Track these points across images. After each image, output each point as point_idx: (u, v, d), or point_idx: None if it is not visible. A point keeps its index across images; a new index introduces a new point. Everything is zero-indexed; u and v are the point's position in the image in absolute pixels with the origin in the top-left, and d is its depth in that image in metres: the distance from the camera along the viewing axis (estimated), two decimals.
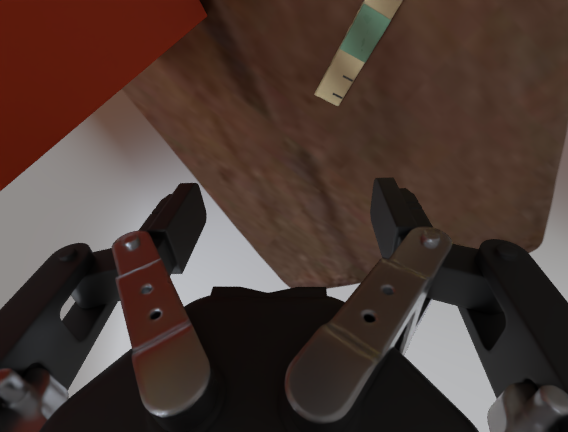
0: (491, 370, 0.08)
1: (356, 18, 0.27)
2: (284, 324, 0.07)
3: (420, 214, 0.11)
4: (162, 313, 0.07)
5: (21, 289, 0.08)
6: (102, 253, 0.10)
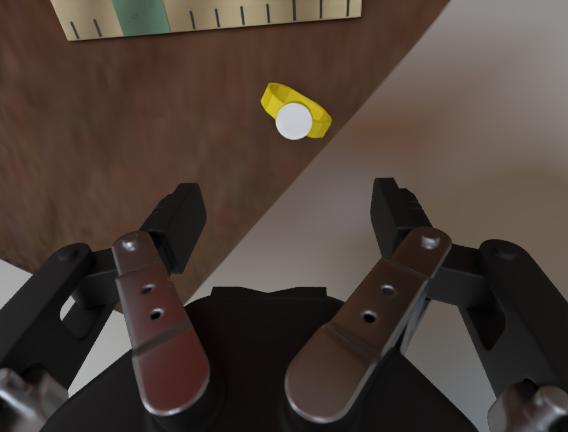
0: (491, 370, 0.08)
1: None
2: (284, 324, 0.07)
3: (420, 214, 0.11)
4: (162, 313, 0.07)
5: (21, 289, 0.08)
6: (102, 253, 0.10)
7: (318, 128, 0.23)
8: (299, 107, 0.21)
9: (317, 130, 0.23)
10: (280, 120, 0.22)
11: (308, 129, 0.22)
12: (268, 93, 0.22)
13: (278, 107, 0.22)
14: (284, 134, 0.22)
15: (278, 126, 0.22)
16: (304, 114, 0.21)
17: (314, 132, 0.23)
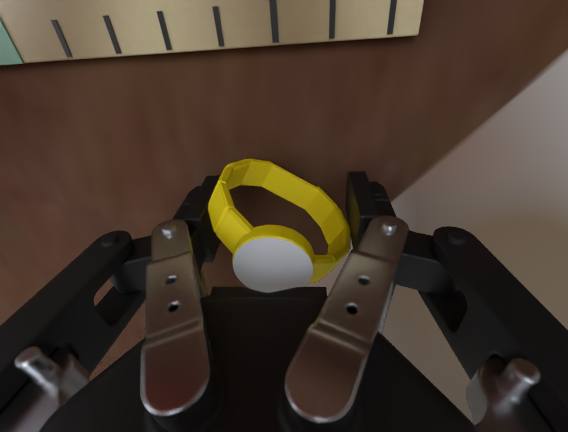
0: (459, 350, 0.08)
1: None
2: (284, 324, 0.07)
3: (386, 205, 0.11)
4: (179, 307, 0.07)
5: (65, 269, 0.09)
6: (140, 241, 0.10)
7: (326, 269, 0.11)
8: (284, 242, 0.09)
9: (323, 270, 0.11)
10: (243, 264, 0.10)
11: (305, 282, 0.10)
12: (219, 197, 0.10)
13: (238, 235, 0.10)
14: (253, 287, 0.10)
15: (239, 274, 0.10)
16: (295, 258, 0.09)
17: (317, 276, 0.11)
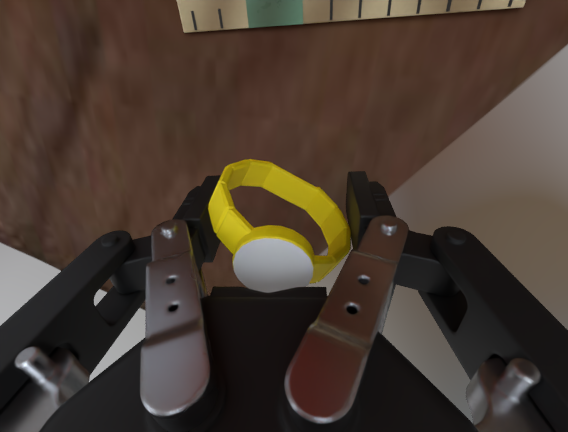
0: (459, 350, 0.08)
1: None
2: (284, 324, 0.07)
3: (386, 205, 0.11)
4: (179, 307, 0.07)
5: (65, 269, 0.09)
6: (140, 241, 0.10)
7: (326, 269, 0.11)
8: (284, 243, 0.09)
9: (323, 270, 0.11)
10: (243, 265, 0.10)
11: (305, 282, 0.10)
12: (219, 198, 0.10)
13: (238, 236, 0.10)
14: (253, 287, 0.10)
15: (239, 274, 0.10)
16: (296, 258, 0.09)
17: (318, 276, 0.11)
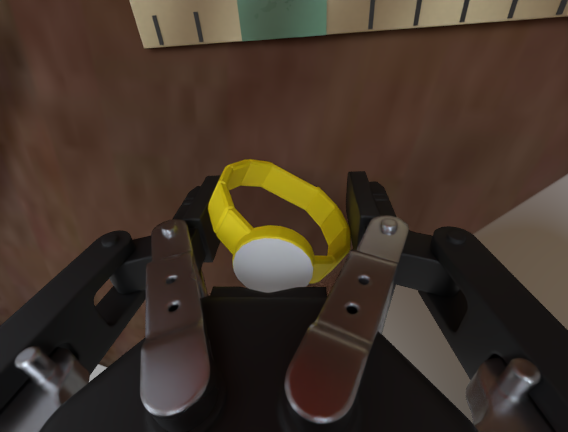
0: (459, 350, 0.08)
1: None
2: (284, 324, 0.07)
3: (386, 205, 0.11)
4: (179, 307, 0.07)
5: (65, 269, 0.09)
6: (140, 241, 0.10)
7: (326, 269, 0.11)
8: (284, 243, 0.09)
9: (323, 270, 0.11)
10: (243, 265, 0.10)
11: (305, 282, 0.10)
12: (219, 198, 0.10)
13: (238, 236, 0.10)
14: (253, 287, 0.10)
15: (239, 275, 0.10)
16: (295, 258, 0.09)
17: (317, 276, 0.11)
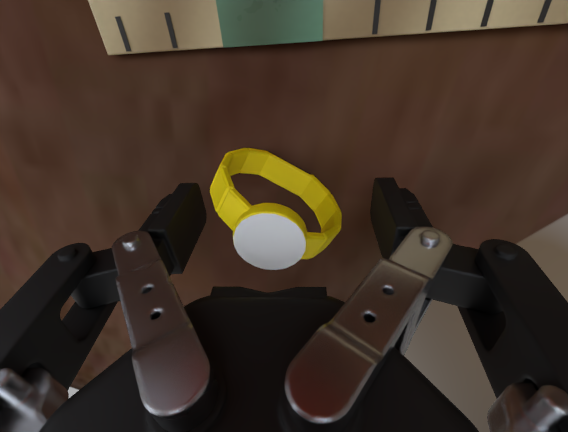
0: (490, 369, 0.08)
1: None
2: (284, 324, 0.07)
3: (420, 214, 0.11)
4: (162, 313, 0.07)
5: (21, 289, 0.08)
6: (102, 253, 0.10)
7: (318, 245, 0.12)
8: (279, 218, 0.10)
9: (316, 247, 0.12)
10: (243, 239, 0.11)
11: (298, 255, 0.11)
12: (220, 180, 0.11)
13: (238, 213, 0.11)
14: (252, 261, 0.11)
15: (239, 249, 0.11)
16: (290, 232, 0.10)
17: (310, 252, 0.12)
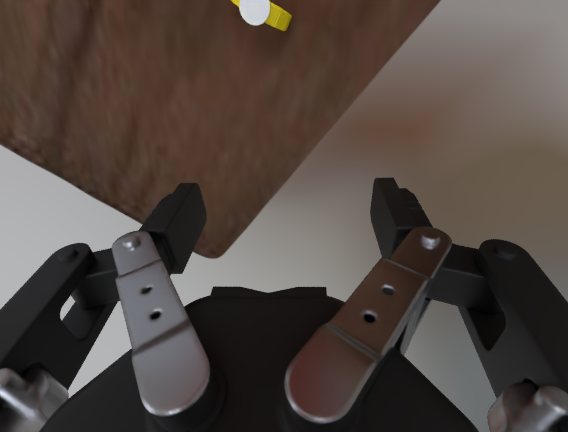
0: (491, 370, 0.08)
1: None
2: (284, 324, 0.07)
3: (420, 214, 0.11)
4: (162, 313, 0.07)
5: (21, 289, 0.08)
6: (102, 253, 0.10)
7: (277, 16, 0.26)
8: None
9: (276, 18, 0.27)
10: (243, 5, 0.25)
11: (267, 13, 0.26)
12: None
13: None
14: (247, 20, 0.26)
15: (241, 12, 0.26)
16: None
17: (274, 20, 0.26)
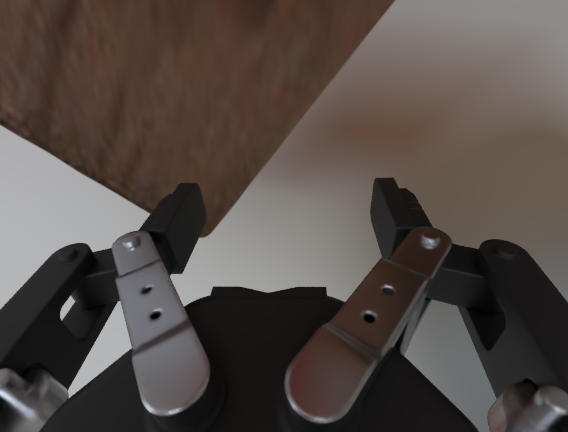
0: (491, 370, 0.08)
1: None
2: (284, 324, 0.07)
3: (420, 214, 0.11)
4: (162, 313, 0.07)
5: (21, 289, 0.08)
6: (102, 253, 0.10)
7: None
8: None
9: None
10: None
11: None
12: None
13: None
14: None
15: None
16: None
17: None
